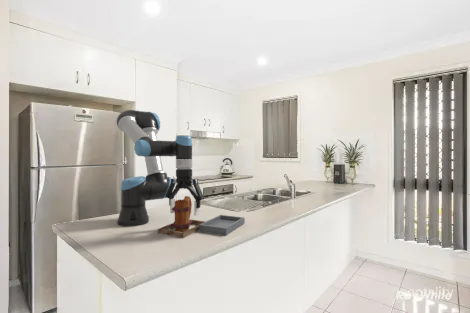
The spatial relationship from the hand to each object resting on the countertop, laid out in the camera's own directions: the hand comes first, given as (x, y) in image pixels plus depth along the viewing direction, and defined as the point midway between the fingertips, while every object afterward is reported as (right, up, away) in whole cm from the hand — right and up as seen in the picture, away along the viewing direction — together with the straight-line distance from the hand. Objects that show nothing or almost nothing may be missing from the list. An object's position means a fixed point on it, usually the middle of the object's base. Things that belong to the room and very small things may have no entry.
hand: (184, 213), depth 118 cm
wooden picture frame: (0, -7, 0) cm, 7 cm away
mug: (0, -8, 0) cm, 8 cm away
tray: (+18, -7, +4) cm, 20 cm away
